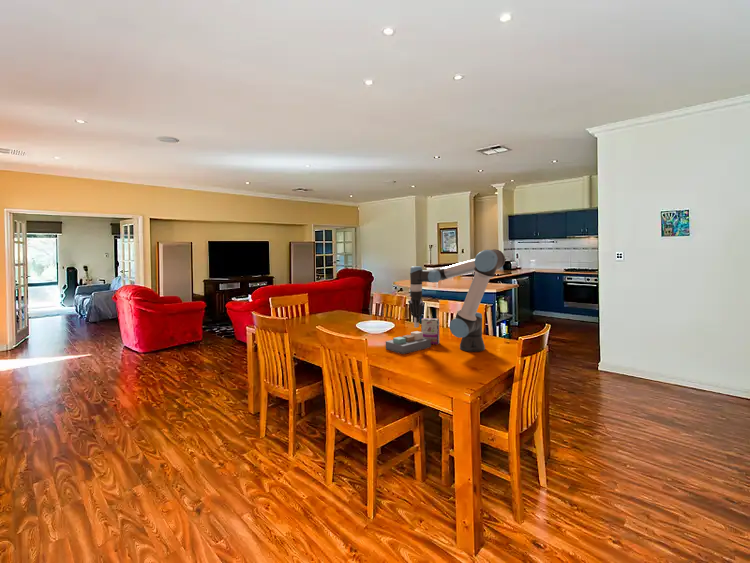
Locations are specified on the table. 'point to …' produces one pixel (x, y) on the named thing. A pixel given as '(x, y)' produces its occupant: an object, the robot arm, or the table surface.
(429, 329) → the candy bar box
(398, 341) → the teal key
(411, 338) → the walnut key
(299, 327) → the table surface
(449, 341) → the table surface
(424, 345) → the dark grey tray
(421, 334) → the ivory key
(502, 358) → the table surface
